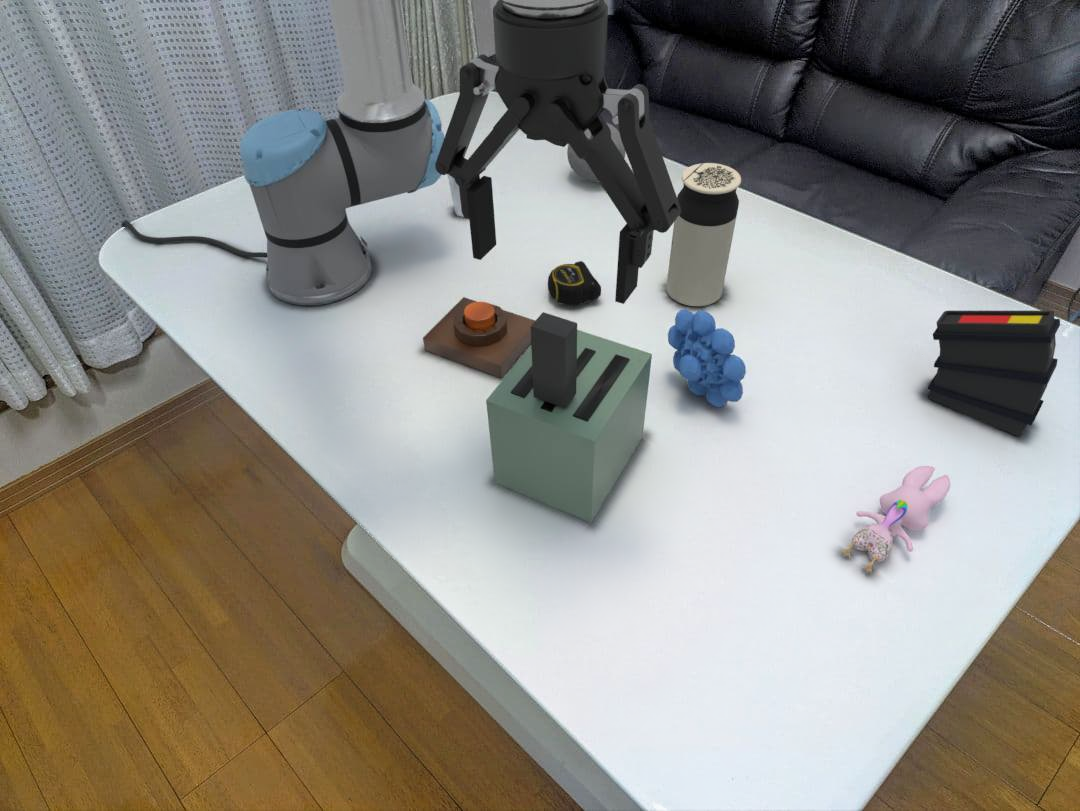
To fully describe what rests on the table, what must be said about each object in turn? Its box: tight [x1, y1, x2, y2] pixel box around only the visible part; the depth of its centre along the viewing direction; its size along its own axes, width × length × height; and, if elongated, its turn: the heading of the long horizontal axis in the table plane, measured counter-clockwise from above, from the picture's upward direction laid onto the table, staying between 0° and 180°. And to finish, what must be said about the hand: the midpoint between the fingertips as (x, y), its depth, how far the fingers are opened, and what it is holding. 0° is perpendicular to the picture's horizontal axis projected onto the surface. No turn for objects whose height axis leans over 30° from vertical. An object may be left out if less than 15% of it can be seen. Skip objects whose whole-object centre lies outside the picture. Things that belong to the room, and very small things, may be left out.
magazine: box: [926, 310, 1061, 437], centre depth 84 cm, size 4×13×15 cm, turn 50°
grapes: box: [667, 309, 747, 408], centre depth 87 cm, size 12×7×12 cm, turn 39°
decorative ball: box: [566, 122, 626, 183], centre depth 126 cm, size 10×10×10 cm
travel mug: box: [665, 162, 742, 307], centre depth 100 cm, size 8×8×18 cm
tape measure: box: [547, 260, 602, 306], centre depth 105 cm, size 7×7×4 cm
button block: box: [422, 296, 536, 379], centre depth 98 cm, size 12×10×4 cm
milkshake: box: [446, 157, 469, 218], centre depth 119 cm, size 4×5×10 cm
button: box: [464, 301, 495, 330], centre depth 96 cm, size 4×4×2 cm
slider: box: [530, 311, 578, 408], centre depth 69 cm, size 4×2×9 cm, turn 61°
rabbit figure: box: [841, 465, 951, 575], centre depth 75 cm, size 6×6×15 cm
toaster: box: [485, 329, 653, 523], centre depth 80 cm, size 12×14×13 cm
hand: (552, 272), depth 62 cm, fingers open, 13 cm apart
